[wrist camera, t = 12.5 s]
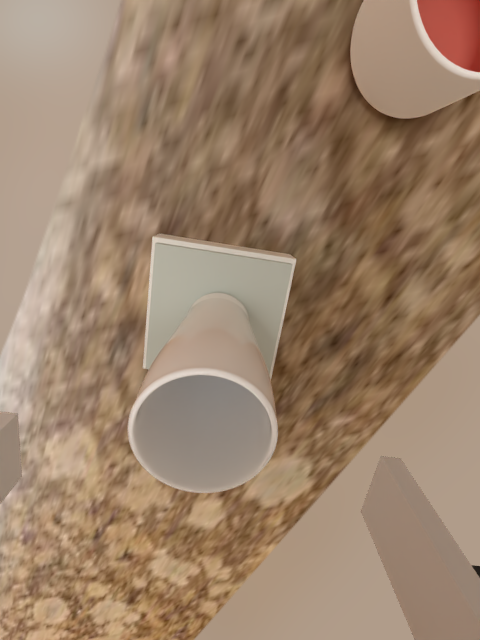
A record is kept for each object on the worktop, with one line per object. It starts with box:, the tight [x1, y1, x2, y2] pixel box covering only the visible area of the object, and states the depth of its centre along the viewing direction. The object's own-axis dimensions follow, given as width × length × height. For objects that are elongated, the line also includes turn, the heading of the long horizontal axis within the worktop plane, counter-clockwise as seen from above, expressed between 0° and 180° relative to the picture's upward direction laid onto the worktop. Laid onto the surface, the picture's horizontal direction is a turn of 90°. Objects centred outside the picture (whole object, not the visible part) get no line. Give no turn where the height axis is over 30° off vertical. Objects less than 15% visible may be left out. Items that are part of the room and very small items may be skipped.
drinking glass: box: [128, 293, 278, 493], centre depth 22 cm, size 7×7×15 cm
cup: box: [350, 0, 480, 119], centre depth 22 cm, size 10×10×10 cm
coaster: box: [143, 234, 296, 380], centre depth 31 cm, size 12×12×4 cm
